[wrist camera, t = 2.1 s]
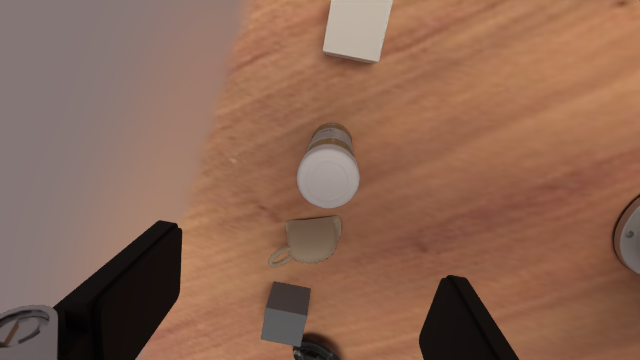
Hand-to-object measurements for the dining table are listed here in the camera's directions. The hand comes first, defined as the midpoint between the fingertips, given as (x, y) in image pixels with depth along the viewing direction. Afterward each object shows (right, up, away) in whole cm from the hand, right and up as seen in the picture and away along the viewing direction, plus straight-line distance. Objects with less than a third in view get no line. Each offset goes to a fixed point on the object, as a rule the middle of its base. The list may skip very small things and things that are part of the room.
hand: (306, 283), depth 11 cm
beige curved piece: (-1, -3, +28) cm, 28 cm away
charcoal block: (-4, -13, +31) cm, 34 cm away
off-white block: (+4, +18, +20) cm, 27 cm away
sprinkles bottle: (+2, +8, +24) cm, 25 cm away
